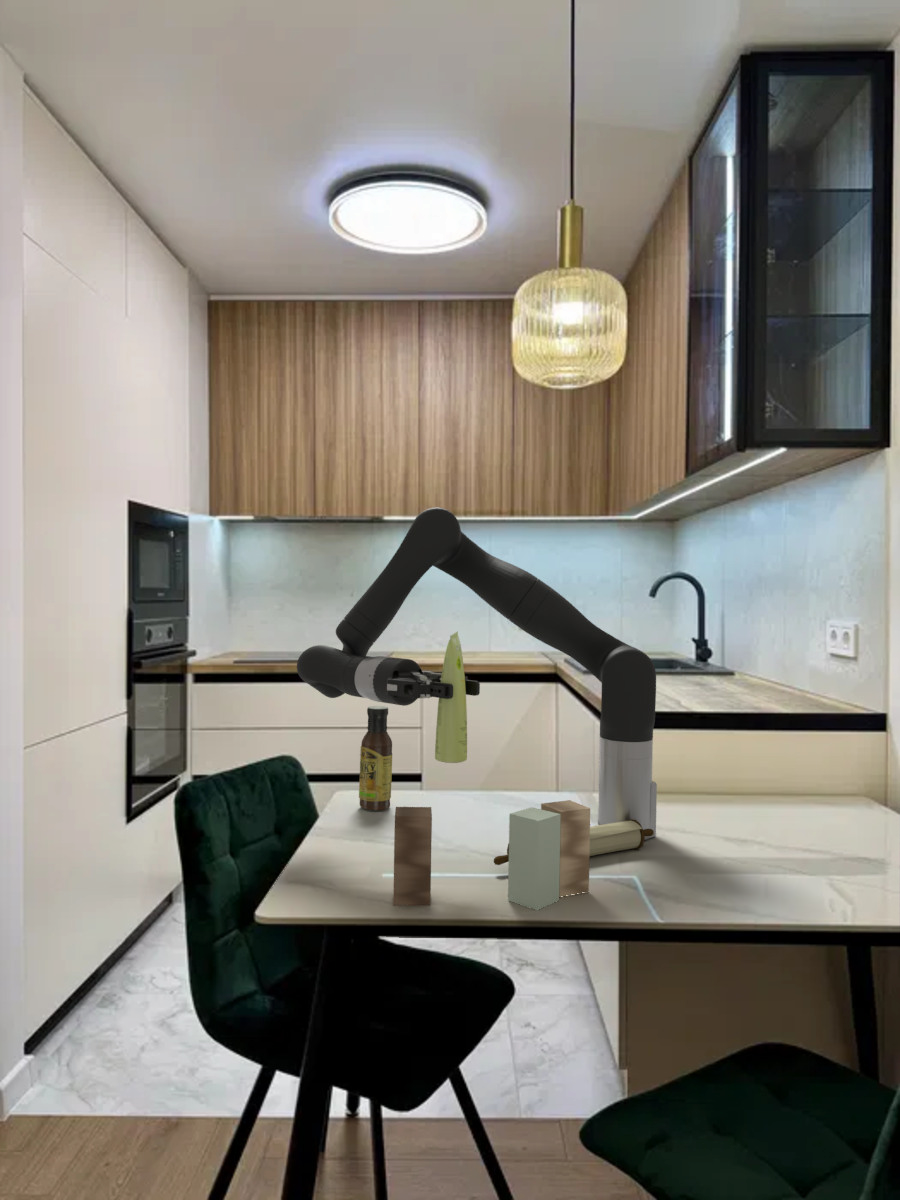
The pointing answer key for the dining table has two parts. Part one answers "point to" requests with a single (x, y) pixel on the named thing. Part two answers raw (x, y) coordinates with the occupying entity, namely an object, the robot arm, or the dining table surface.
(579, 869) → the oak block
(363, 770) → the sauce bottle
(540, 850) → the sage block
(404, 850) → the walnut block
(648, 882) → the dining table surface
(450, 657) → the tube
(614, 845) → the rolling pin
